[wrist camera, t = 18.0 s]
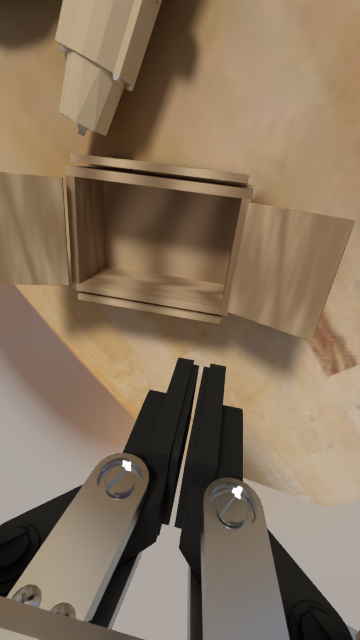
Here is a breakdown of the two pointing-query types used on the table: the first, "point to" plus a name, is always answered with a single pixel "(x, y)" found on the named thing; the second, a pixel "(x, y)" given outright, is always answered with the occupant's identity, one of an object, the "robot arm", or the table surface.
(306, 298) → the flap
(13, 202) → the flap
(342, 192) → the table surface
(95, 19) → the butterfly valve
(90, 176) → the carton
